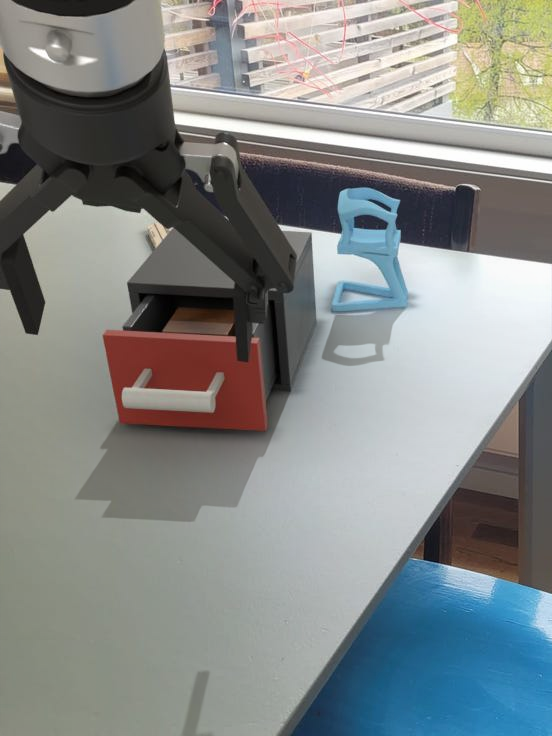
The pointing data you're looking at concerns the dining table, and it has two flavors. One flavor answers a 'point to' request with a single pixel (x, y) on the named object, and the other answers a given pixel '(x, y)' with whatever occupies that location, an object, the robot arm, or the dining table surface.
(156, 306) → the red drawer
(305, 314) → the grey drawer unit
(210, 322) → the walnut block
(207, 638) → the dining table surface
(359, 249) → the chair
